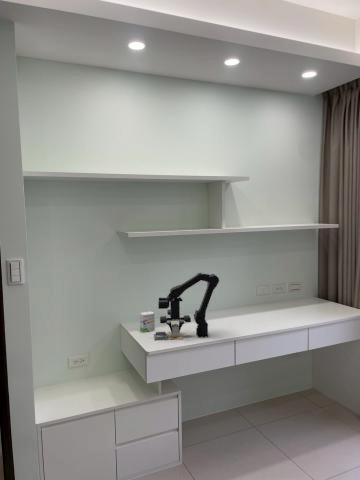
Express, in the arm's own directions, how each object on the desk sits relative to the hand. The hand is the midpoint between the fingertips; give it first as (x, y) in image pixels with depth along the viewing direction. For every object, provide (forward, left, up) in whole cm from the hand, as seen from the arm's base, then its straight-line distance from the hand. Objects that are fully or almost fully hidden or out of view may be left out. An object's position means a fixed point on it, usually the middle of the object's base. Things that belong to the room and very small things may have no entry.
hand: (175, 332), depth 228 cm
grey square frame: (+9, 0, -2) cm, 9 cm away
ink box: (+17, -14, -3) cm, 22 cm away
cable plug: (0, 0, -2) cm, 2 cm away
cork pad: (0, 0, -2) cm, 2 cm away
